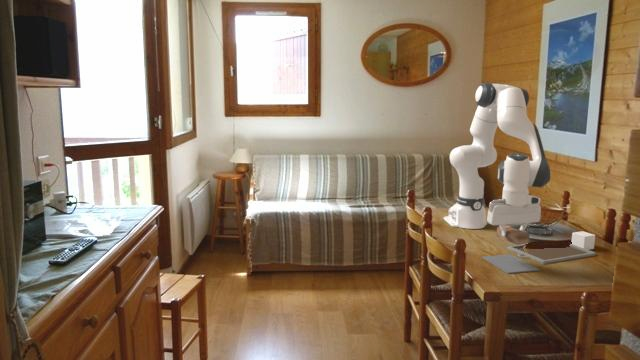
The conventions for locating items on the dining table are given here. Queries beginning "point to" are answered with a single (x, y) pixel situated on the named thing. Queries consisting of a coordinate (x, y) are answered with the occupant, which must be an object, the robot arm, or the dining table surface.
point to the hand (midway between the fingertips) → (512, 234)
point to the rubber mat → (510, 264)
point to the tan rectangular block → (514, 235)
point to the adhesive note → (583, 240)
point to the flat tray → (552, 253)
